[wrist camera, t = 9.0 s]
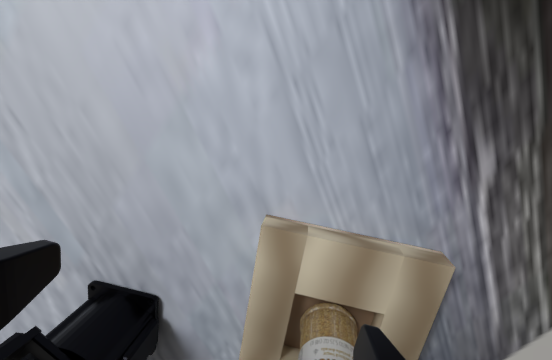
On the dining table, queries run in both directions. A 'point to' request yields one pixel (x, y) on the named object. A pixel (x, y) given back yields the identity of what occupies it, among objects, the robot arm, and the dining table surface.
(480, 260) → the dining table surface
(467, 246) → the dining table surface
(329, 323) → the sprinkles bottle
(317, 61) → the dining table surface
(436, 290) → the socket block
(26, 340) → the robot arm
